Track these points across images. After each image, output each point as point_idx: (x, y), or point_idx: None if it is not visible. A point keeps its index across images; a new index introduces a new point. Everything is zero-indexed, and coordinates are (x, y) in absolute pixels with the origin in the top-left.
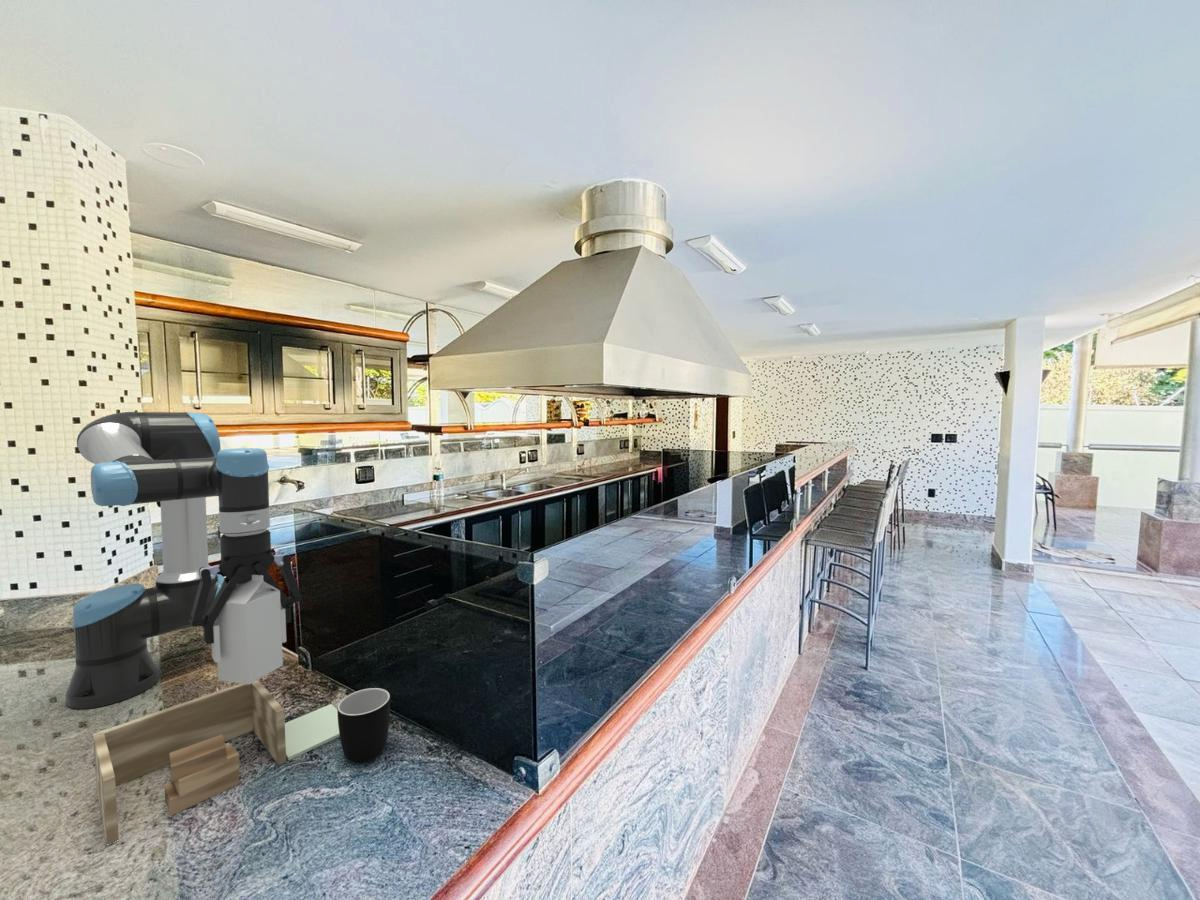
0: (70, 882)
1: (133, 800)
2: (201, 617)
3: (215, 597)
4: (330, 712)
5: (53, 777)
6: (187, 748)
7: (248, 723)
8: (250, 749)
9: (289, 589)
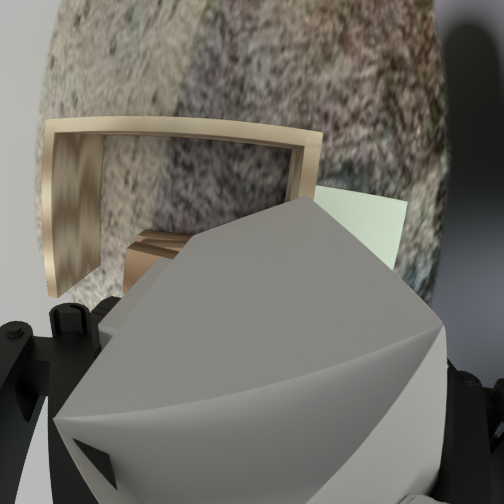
0: (70, 288)
1: (119, 192)
2: (36, 415)
3: (49, 451)
4: (391, 228)
5: (77, 48)
6: (148, 260)
7: (286, 147)
8: (264, 206)
9: (497, 451)
